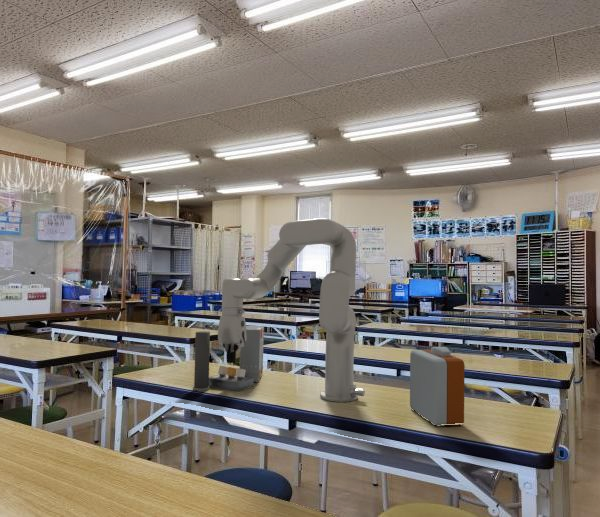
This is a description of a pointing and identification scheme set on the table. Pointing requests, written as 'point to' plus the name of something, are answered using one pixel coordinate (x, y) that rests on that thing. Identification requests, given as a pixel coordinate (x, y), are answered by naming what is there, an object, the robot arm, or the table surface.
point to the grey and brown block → (437, 385)
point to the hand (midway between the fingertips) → (231, 362)
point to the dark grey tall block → (202, 361)
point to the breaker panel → (230, 382)
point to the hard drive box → (253, 352)
